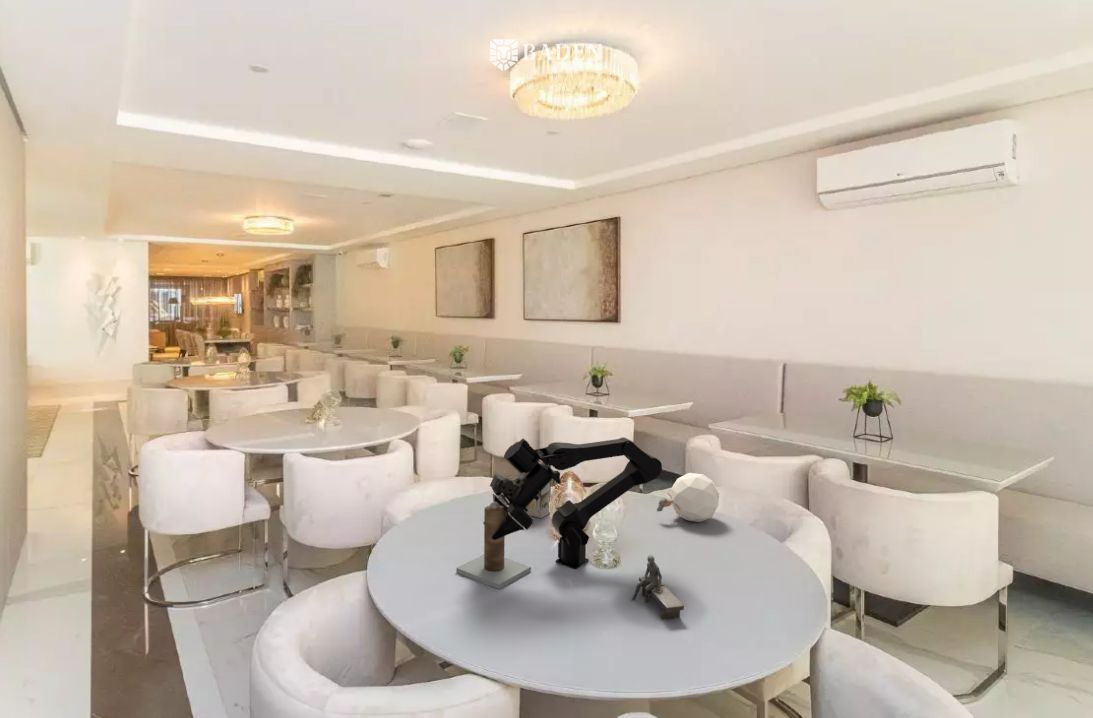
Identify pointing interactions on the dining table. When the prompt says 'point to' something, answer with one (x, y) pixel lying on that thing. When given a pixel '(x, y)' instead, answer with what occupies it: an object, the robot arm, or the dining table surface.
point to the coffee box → (539, 500)
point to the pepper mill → (492, 547)
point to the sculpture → (658, 591)
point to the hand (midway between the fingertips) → (488, 531)
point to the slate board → (493, 572)
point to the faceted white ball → (692, 497)
